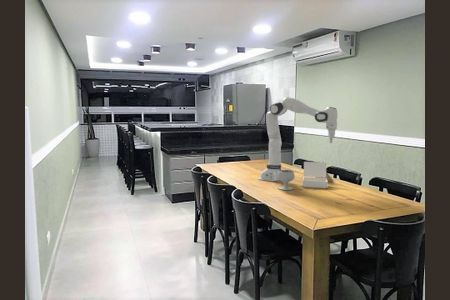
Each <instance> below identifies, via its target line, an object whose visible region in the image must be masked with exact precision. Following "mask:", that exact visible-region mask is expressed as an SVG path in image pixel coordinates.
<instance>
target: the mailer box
mask: <svg viewBox="0 0 450 300" xmlns="http://www.w3.org/2000/svg"><path fill="white" fill-rule="evenodd" d="M328 183H329V182H328V181H327V178H315V177H305V176H303V177H302V188H309V189H310V188H311V189H326V190H327V189H328Z"/></svg>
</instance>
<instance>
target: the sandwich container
mask: <svg viewBox="0 0 450 300" xmlns="http://www.w3.org/2000/svg"><path fill="white" fill-rule="evenodd" d="M314 178H327V181H329V182H333V181H334V179H332V177H331V176H330V175H329V174H328V172H327V171H326V177H314ZM332 180H333V181H332Z"/></svg>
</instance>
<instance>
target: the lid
mask: <svg viewBox="0 0 450 300" xmlns="http://www.w3.org/2000/svg"><path fill="white" fill-rule="evenodd" d="M326 172H327V162H321V161H318V162H317V161H303V177H311V178H315V177H326Z"/></svg>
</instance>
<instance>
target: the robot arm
mask: <svg viewBox="0 0 450 300" xmlns="http://www.w3.org/2000/svg"><path fill="white" fill-rule="evenodd" d="M287 111H291V112H292V113H295V114H306V115H309V116H312V117H314V120H315V121H316V122H318V123H325V129H326V130H327V131H328V132H327V136H328V139H329V144H332V143H333V139H335V135H336V129H338V121H337V120H338V109H337V108H336V107H332V106H328V107H326V108H325V109H323V110H322V109H321V110H318V109H316V108H313V107H310V106H309V105H308V104H306V103H304V102H302V101H300V100H299V99H297V98H294V97H290V96H286V97H284V98H283V100H282V101H281V102H280V101H279V102H278V101H277V102H274V103H272V104H271V106H269V111H267V112H266V114H265V123H266V131H267V136H268V140H269V141H268V163H267V164H266V168H265V169H263V170H262V171H261V173H260V176H258V177H257V180H259V181H268V182H278V181H279V182H280V180H279V179H278V178H277V174H278V171H279V170H282V151H281V150H282V149H281V147H282V137H281V133H280V131H281V130H280V126H279V125H280V124H279V119H278V118H279V117H280V116H282V115H284V114H285V113H286V112H287Z"/></svg>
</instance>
